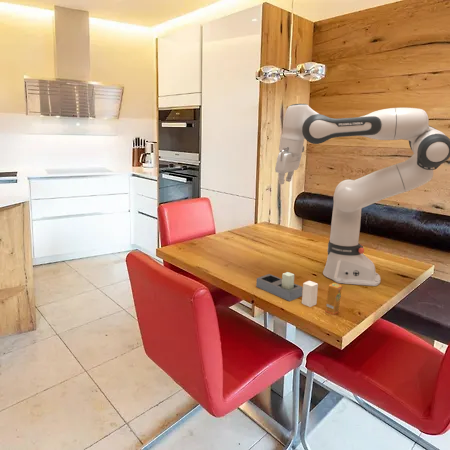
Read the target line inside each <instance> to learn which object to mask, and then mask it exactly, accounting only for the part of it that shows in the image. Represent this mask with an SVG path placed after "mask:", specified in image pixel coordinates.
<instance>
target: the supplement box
mask: <svg viewBox="0 0 450 450" xmlns="http://www.w3.org/2000/svg"><path fill="white" fill-rule="evenodd" d="M342 288H343V285H341V284H340V283H337V282H332V283H330V284H329V285H328V288H327V293H326V302H325V303H326V304H325V311H324V312H325V313H328V314H330V315H333V316H335V315H336V314H338V313H339V310H340V303H341V298H342V297H341V296H342V290H343V289H342Z"/></svg>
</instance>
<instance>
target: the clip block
mask: <svg viewBox="0 0 450 450" xmlns="http://www.w3.org/2000/svg"><path fill="white" fill-rule="evenodd" d="M302 287H303V290H302V296H301V304H303V305H304V306H307V307H309V308H311V307H312V308H313V306H316V305H317V303H318V302H317V301H318V289H319V288H318V287H319V284H318V283H317V282H315V281H311V280H307V281H305V282H303V283H302Z"/></svg>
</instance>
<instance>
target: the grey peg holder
mask: <svg viewBox="0 0 450 450" xmlns="http://www.w3.org/2000/svg"><path fill="white" fill-rule="evenodd" d="M255 283H256V284H255V285H256V286H255V287H256V288H258V289H260V290H263V291H265V292H267V293H270V294H272V295H274V296H276V297H279V298H280V299H283V300H286V301H288V302H291V301H295V300H296V299H298V298H302V294H303V285H299V284H296V283H294V288H293V289H290V290H287V289H285V288H282V277H281V278H280V277H279V276H276V275H273V274H272V273H271V274H270V273H268V274H264V275H262V276H259V277H256V282H255Z"/></svg>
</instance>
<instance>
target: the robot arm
mask: <svg viewBox="0 0 450 450" xmlns="http://www.w3.org/2000/svg"><path fill="white" fill-rule="evenodd" d="M283 117H284V118H283V122H282V123H283V124H282V133H281V136H280V140H279V141H280V142H279V147H278V150H279V151H280V152H279V153H278V155H277V157H276V163H275V166H274V167H275V171H274V172H275V173H277V174H278V184H279V185H284V184H285V182H289V183H290V182H291V181H292V179H293V175H294V172H295V171H297V170H298V169H299V166H300V165H301V164H300V163H301V160H302V155H303V153H304V151H305V145H304V142H305V140H306V142H308V143H310V144H313V145H320V144H323V143H325V142H327V141H329V140H330V139H333V138H335V139H336V138H342V137H343V138H345V137H365V138H369V139H372V140H380V141H397V140H405V141H408V143H409V147H410V150H411V151H412V153H413V154H412V155H411V156H410V157H409V158H407V159H406V160H404V161H402V162H399V163H396V164H393V165H390V166H386V167H384V168H380V169H378V170H375V171H373V172H371V173H369V174H367V175H363V176H361V177H359V178H357V179H344V180H342V181H340V182H339V183H338V184H337V185H336V187H335V189H334V192H333V207H332V216H331V223H330V234H329V241H328V242H327V258H326V259H327V260H326V262H325V266H324V268H323V271H322V274H323V275H324V277H326V278H328V279H330V280H332V281H334V283H337V284H345V285H355V286H356V285H357V286H358V285H359V286H371V287H372V286H373V287H376V286H379V285H380V284H381V275H380V274H379V273H377V272H376V266H375V263H374V262H373V261H372V260H371V259H370V258H369V257H368V256H366V255H365V253H364V252H365V248H364V245H363V244H360V243H359V239H360V231H361V219H362V218H361V217H362V209H363V208H366V207H368V206H371V205H373V204H376V203H378V202H380V201H383V200H385V199H388V198H391V197H394V196H397V195H400V194H404V193H407V192H409V191H413V190H415V189H418V188H419V187H421V186H424V185H426V184H427V183H428V182H431V181H432V180H433V177H434V170H436V169H438V168H439V167H440V166H441V165H442V164H444V163H445V162H446V161H448V160H449V159H450V138H449V137H448V135H446V134H445V133H444V132H443V131H441V130H438V129H436V128H435V127H433V126H431V125H429V116H428V113H427V111H425V110H424V109H422V108H418V107H417V108H416V107H390V108H383V109H379V110H375V111H372V112H370V113H367V114H366V115H361V116H357V117H341V118H338V117H337V118H333V117H329V116H327V115H324V114H321V113H319V112H317V111H315V110H314V109H312V108H311V106H310V105H308V104H307V103H292V104H291V105H289V106H288V107H287V108H286V110H285V114H284V116H283ZM285 176H286V177H285Z"/></svg>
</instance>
